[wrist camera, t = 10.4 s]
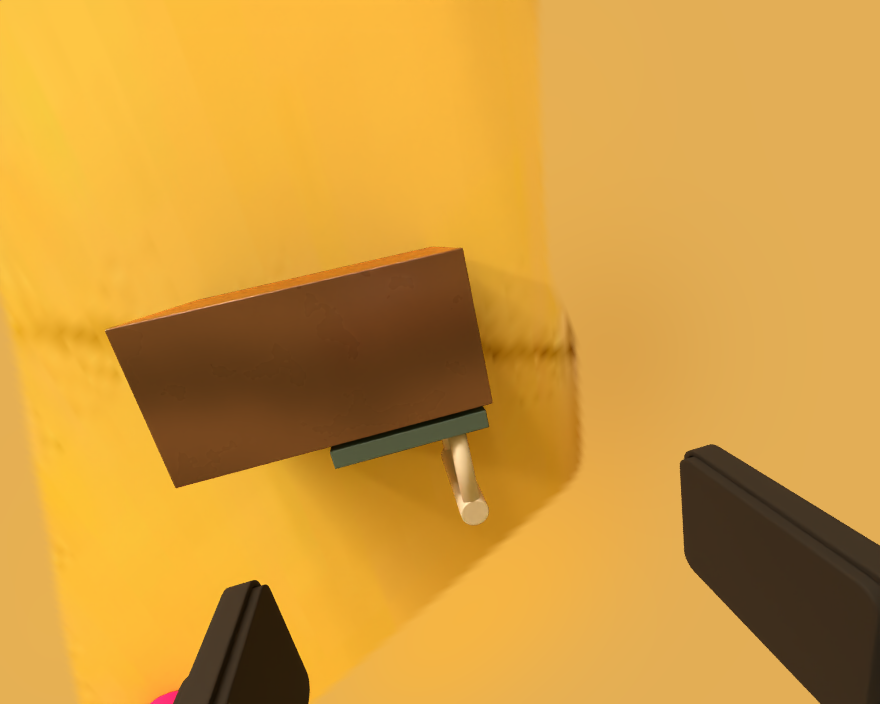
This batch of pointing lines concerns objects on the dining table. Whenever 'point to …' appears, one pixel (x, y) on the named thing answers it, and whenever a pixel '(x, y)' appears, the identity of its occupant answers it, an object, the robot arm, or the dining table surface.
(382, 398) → the cabinet
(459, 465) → the sliding door
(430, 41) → the dining table surface
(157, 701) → the pepper mill
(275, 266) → the dining table surface
